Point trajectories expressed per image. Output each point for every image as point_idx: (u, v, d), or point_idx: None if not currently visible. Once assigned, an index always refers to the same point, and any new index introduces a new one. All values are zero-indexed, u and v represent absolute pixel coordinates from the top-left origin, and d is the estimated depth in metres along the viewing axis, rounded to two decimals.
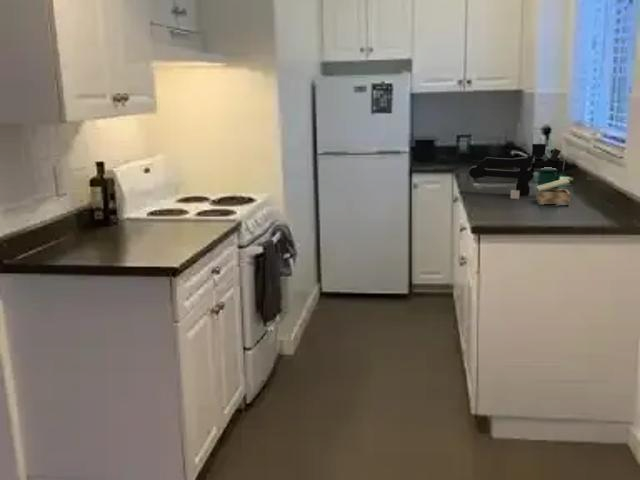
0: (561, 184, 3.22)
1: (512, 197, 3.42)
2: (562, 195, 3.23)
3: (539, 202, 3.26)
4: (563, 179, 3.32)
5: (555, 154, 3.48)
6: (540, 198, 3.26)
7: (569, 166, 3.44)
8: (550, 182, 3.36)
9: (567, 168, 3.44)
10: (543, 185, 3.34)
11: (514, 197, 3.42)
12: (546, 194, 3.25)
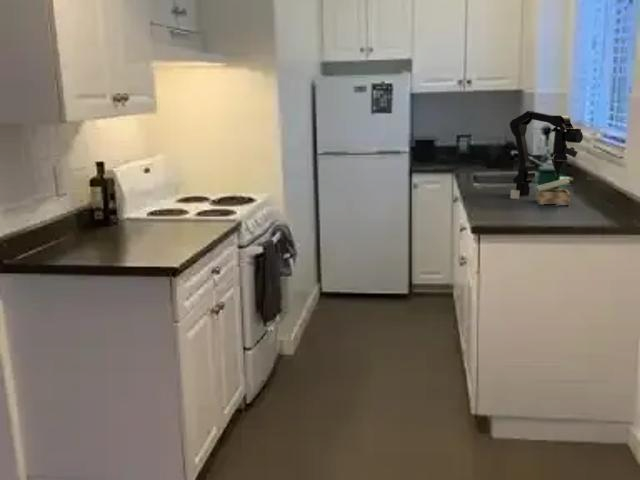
0: (561, 184, 3.22)
1: (512, 197, 3.42)
2: (562, 195, 3.23)
3: (539, 202, 3.26)
4: (563, 179, 3.32)
5: (571, 152, 3.34)
6: (540, 198, 3.26)
7: (558, 166, 3.36)
8: (550, 182, 3.36)
9: (556, 164, 3.35)
10: (543, 185, 3.34)
11: (514, 197, 3.42)
12: (546, 194, 3.25)
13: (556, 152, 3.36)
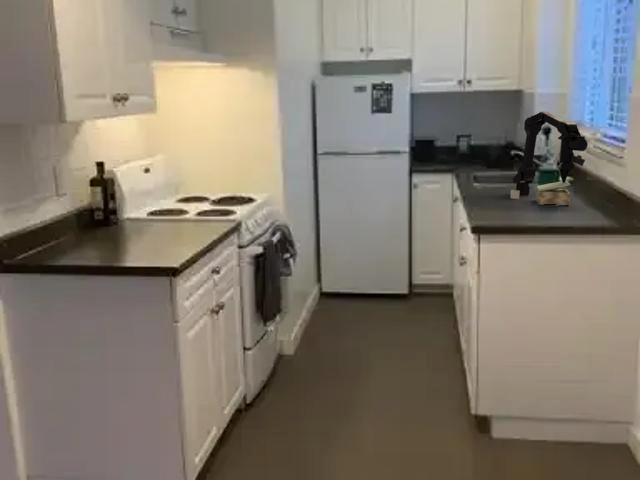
0: (561, 186, 3.23)
1: (512, 197, 3.42)
2: (562, 195, 3.23)
3: (539, 202, 3.26)
4: None
5: (578, 160, 3.23)
6: (540, 198, 3.26)
7: (564, 174, 3.27)
8: (550, 183, 3.36)
9: (562, 172, 3.27)
10: (543, 185, 3.34)
11: (514, 197, 3.42)
12: (546, 194, 3.25)
13: (563, 160, 3.25)
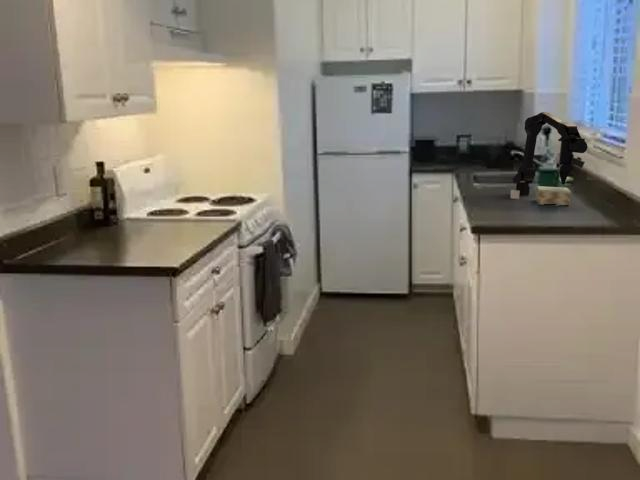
0: (562, 192, 3.23)
1: (512, 197, 3.42)
2: (562, 195, 3.23)
3: (539, 202, 3.26)
4: (564, 188, 3.33)
5: (578, 162, 3.23)
6: (540, 198, 3.26)
7: (564, 176, 3.27)
8: (551, 187, 3.36)
9: (562, 174, 3.27)
10: (544, 187, 3.34)
11: (514, 197, 3.42)
12: (546, 194, 3.25)
13: (562, 162, 3.25)
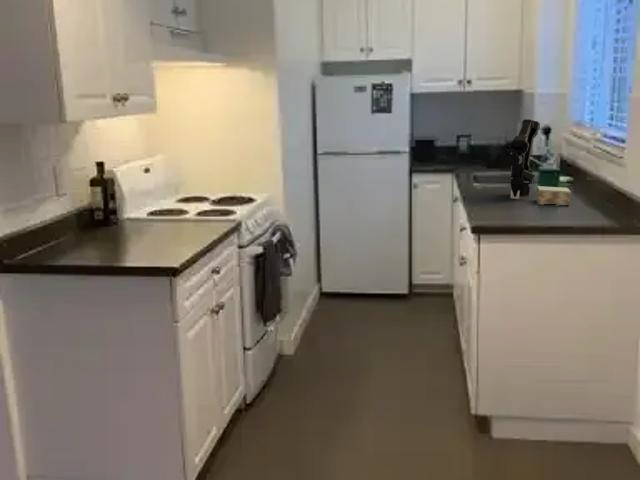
0: (562, 192, 3.23)
1: (512, 197, 3.42)
2: (562, 195, 3.23)
3: (539, 202, 3.26)
4: (564, 188, 3.33)
5: (528, 175, 3.38)
6: (540, 198, 3.26)
7: (515, 188, 3.40)
8: (551, 187, 3.36)
9: (513, 187, 3.40)
10: (544, 187, 3.34)
11: (514, 197, 3.42)
12: (546, 194, 3.25)
13: (514, 175, 3.40)
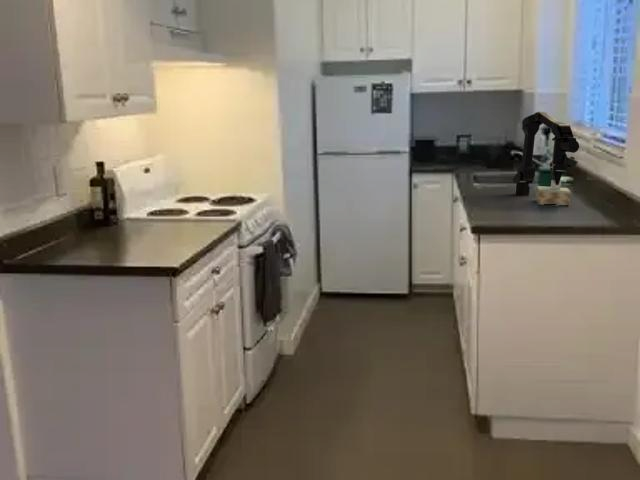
0: (562, 192, 3.23)
1: (553, 187, 3.28)
2: (562, 195, 3.23)
3: (539, 202, 3.26)
4: (564, 188, 3.33)
5: (571, 161, 3.24)
6: (540, 198, 3.26)
7: (558, 176, 3.23)
8: None
9: (556, 174, 3.23)
10: (544, 187, 3.34)
11: (555, 187, 3.28)
12: (546, 194, 3.25)
13: (555, 162, 3.25)
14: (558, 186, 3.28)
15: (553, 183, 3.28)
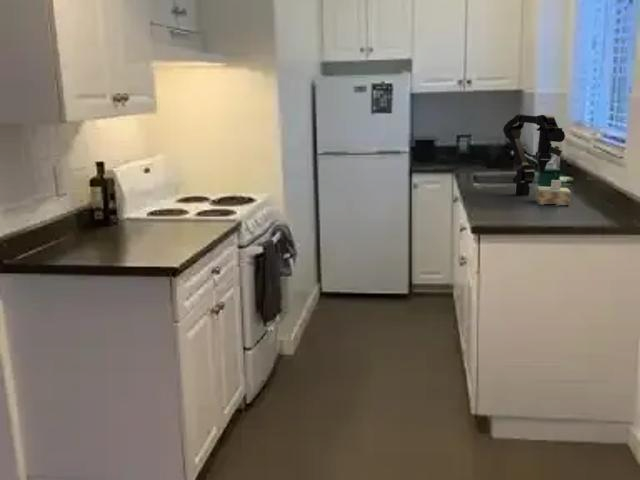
0: (562, 192, 3.23)
1: (553, 187, 3.28)
2: (562, 195, 3.23)
3: (539, 202, 3.26)
4: (564, 188, 3.33)
5: (555, 151, 3.38)
6: (540, 198, 3.26)
7: (543, 165, 3.37)
8: None
9: (541, 163, 3.37)
10: (544, 187, 3.34)
11: (555, 187, 3.28)
12: (546, 194, 3.25)
13: (541, 151, 3.39)
14: (558, 186, 3.28)
15: (553, 183, 3.28)
